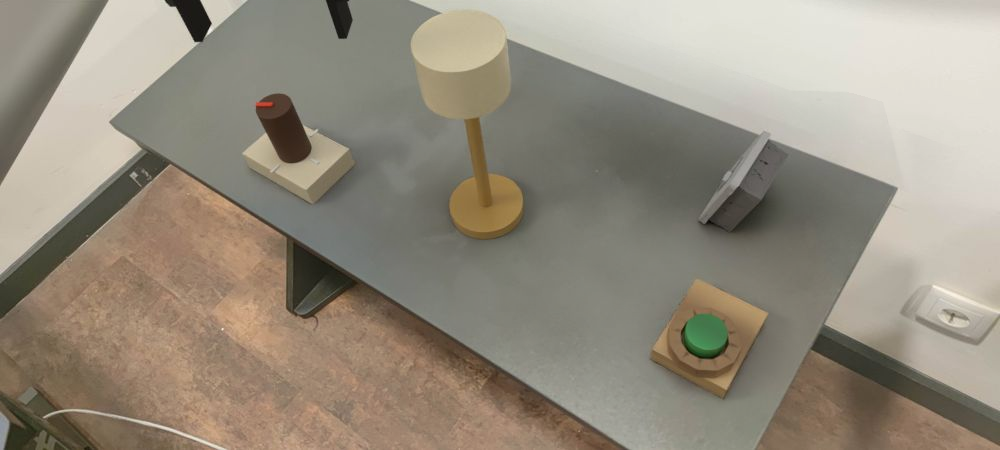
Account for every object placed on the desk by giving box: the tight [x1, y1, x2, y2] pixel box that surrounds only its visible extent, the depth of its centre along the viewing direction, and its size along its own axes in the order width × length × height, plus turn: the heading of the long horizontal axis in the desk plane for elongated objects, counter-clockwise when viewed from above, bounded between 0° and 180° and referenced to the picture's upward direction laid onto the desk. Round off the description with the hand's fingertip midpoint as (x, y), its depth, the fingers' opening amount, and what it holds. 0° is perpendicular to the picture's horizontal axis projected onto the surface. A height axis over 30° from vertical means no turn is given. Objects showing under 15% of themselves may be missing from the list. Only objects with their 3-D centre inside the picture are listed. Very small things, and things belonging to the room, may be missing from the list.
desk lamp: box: [410, 9, 525, 240], centre depth 75 cm, size 9×9×26 cm
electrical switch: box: [698, 130, 789, 233], centre depth 79 cm, size 9×5×9 cm, turn 145°
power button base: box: [650, 278, 769, 399], centre depth 71 cm, size 10×8×4 cm
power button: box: [684, 314, 728, 358], centre depth 68 cm, size 4×4×2 cm
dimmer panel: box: [241, 124, 356, 205], centre depth 92 cm, size 9×12×3 cm
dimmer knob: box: [255, 92, 312, 163], centre depth 87 cm, size 4×4×8 cm
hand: (273, 31), depth 64 cm, fingers open, 13 cm apart
